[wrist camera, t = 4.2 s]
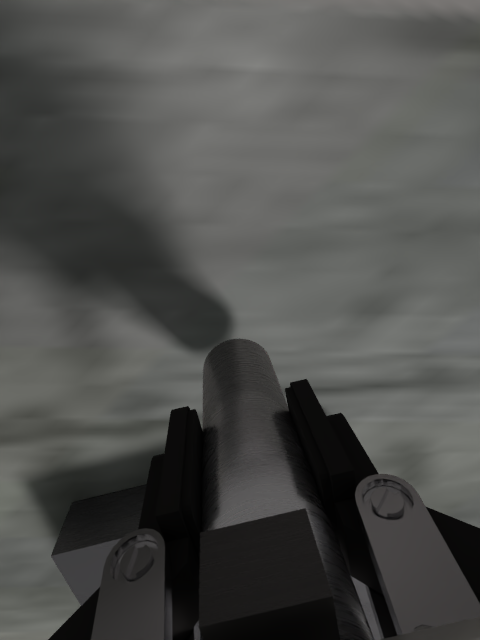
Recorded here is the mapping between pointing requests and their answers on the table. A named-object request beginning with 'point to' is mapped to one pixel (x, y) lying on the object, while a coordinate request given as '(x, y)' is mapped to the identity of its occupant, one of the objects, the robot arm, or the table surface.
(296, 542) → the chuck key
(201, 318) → the table surface
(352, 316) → the table surface
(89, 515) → the block
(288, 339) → the table surface
